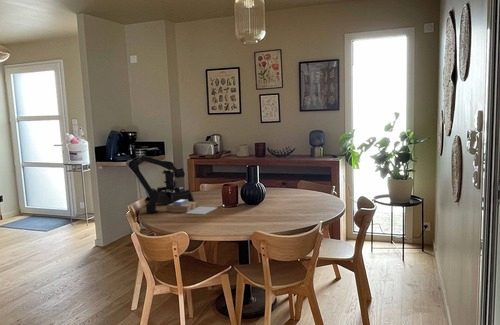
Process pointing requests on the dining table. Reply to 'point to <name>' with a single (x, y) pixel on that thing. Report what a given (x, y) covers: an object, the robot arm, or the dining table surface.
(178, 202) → the card box
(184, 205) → the board
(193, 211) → the mat
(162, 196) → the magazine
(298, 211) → the dining table surface
